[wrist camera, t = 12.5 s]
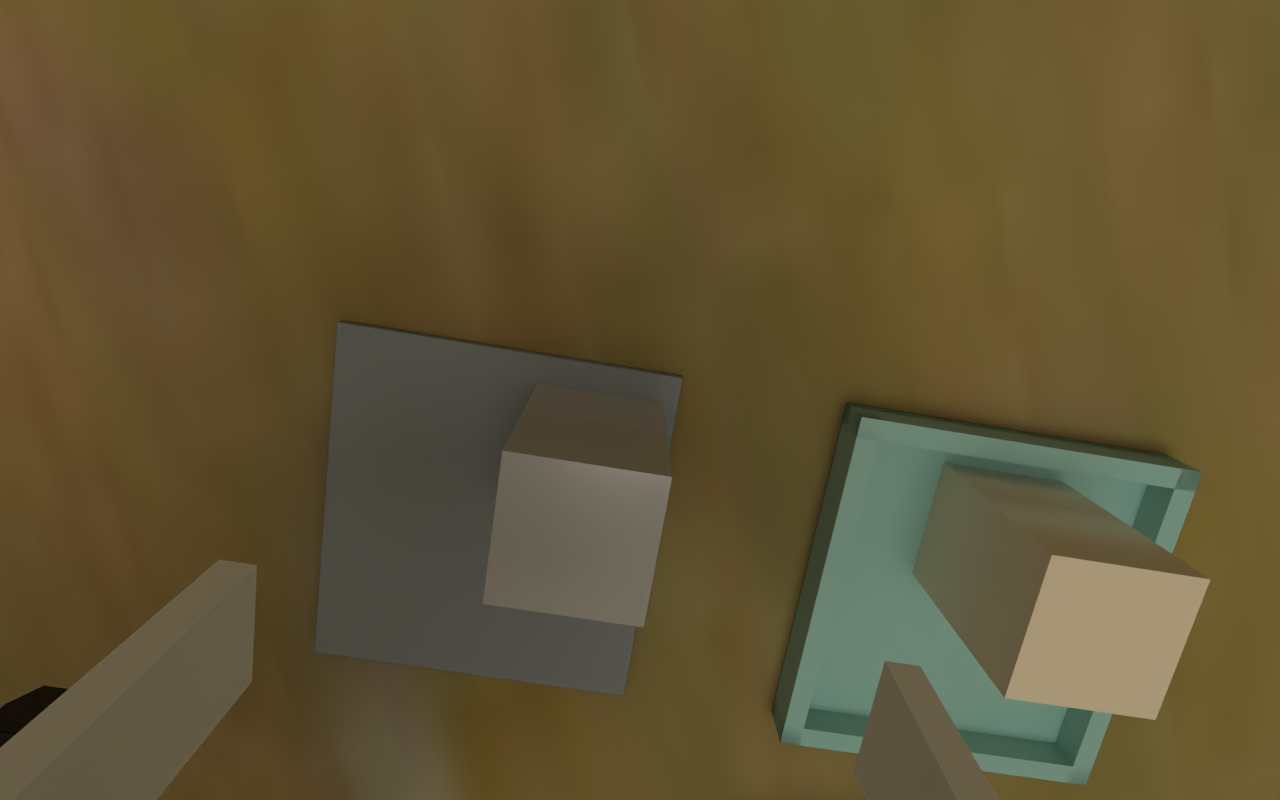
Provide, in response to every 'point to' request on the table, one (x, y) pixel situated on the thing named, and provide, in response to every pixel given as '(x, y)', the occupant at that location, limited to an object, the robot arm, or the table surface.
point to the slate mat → (447, 508)
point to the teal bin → (905, 614)
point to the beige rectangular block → (1056, 592)
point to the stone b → (580, 507)
